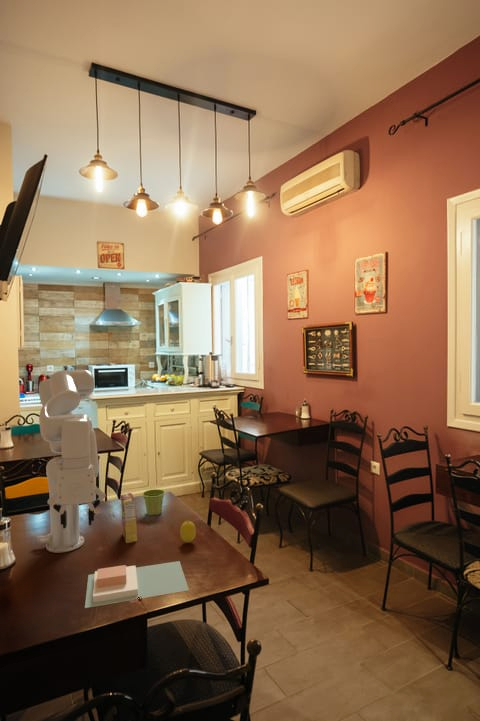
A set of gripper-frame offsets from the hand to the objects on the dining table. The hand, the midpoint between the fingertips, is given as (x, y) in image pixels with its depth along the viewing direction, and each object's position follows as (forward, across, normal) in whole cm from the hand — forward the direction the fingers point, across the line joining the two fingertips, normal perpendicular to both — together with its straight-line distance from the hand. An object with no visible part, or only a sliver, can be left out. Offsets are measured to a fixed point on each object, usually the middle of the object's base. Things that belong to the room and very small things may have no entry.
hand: (77, 524), depth 123 cm
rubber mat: (+20, +16, 0) cm, 25 cm away
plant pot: (+20, +26, +55) cm, 64 cm away
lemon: (+20, +35, +22) cm, 46 cm away
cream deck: (+19, +10, 0) cm, 22 cm away
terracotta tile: (+18, +9, 0) cm, 20 cm away
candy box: (+20, +15, +33) cm, 41 cm away
